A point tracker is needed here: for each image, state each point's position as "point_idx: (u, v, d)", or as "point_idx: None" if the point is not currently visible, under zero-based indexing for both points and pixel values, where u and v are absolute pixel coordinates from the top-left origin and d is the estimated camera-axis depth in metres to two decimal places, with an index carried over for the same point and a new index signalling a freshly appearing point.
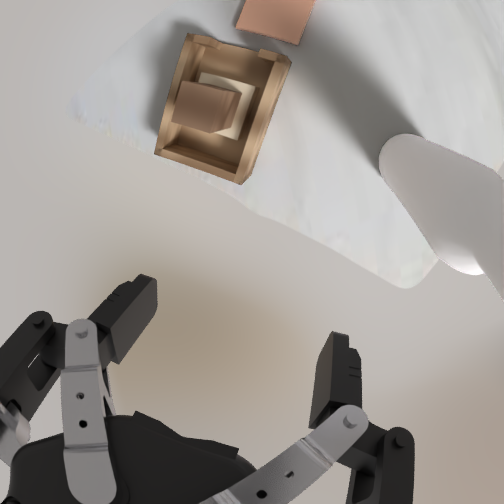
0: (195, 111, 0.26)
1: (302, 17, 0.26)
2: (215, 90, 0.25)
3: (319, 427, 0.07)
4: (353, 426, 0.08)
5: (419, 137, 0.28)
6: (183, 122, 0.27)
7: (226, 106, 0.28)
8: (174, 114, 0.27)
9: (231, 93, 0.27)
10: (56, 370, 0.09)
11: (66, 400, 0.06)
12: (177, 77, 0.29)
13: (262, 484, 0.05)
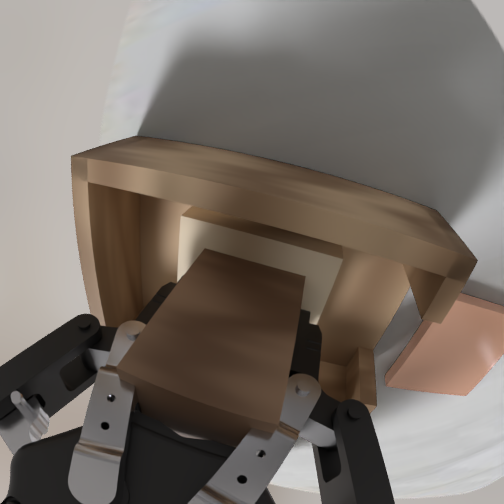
0: (175, 427, 0.08)
1: (432, 387, 0.17)
2: None
3: None
4: (304, 393, 0.08)
5: None
6: None
7: None
8: (143, 383, 0.07)
9: None
10: (94, 375, 0.09)
11: (95, 398, 0.06)
12: (326, 228, 0.09)
13: (262, 484, 0.05)
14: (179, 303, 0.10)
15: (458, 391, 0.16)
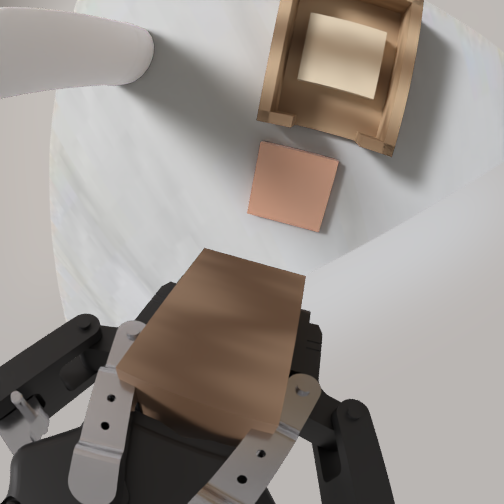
0: (175, 427, 0.08)
1: (259, 178, 0.30)
2: None
3: None
4: (304, 393, 0.08)
5: (113, 83, 0.26)
6: None
7: None
8: (143, 384, 0.07)
9: None
10: (94, 375, 0.09)
11: (95, 398, 0.06)
12: (401, 93, 0.19)
13: (262, 484, 0.05)
14: (179, 303, 0.10)
15: (253, 203, 0.32)
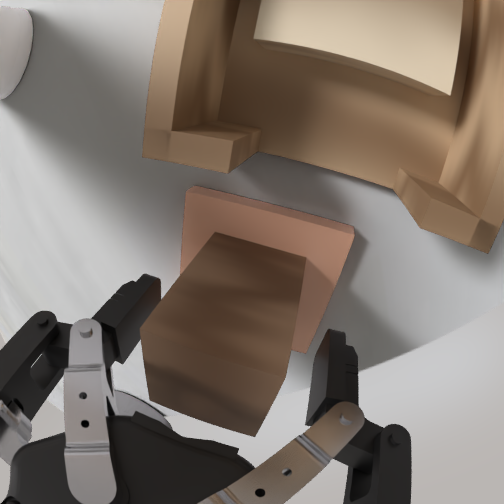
0: (189, 390, 0.09)
1: None
2: (254, 428, 0.10)
3: (315, 424, 0.08)
4: (349, 423, 0.08)
5: None
6: (151, 361, 0.09)
7: None
8: (164, 342, 0.08)
9: None
10: (59, 370, 0.09)
11: (69, 399, 0.06)
12: None
13: (262, 484, 0.05)
14: (194, 276, 0.11)
15: None
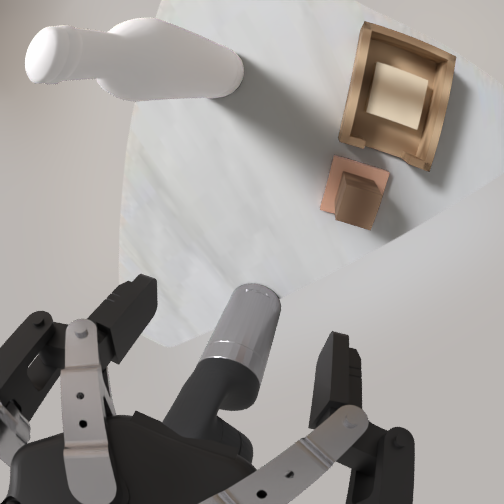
0: (354, 207, 0.33)
1: (331, 183, 0.39)
2: (371, 224, 0.33)
3: (319, 427, 0.07)
4: (353, 426, 0.08)
5: (211, 97, 0.35)
6: (345, 196, 0.32)
7: None
8: (352, 188, 0.32)
9: None
10: (56, 370, 0.09)
11: (66, 400, 0.06)
12: (437, 127, 0.28)
13: (262, 484, 0.05)
14: (348, 178, 0.34)
15: (325, 202, 0.40)
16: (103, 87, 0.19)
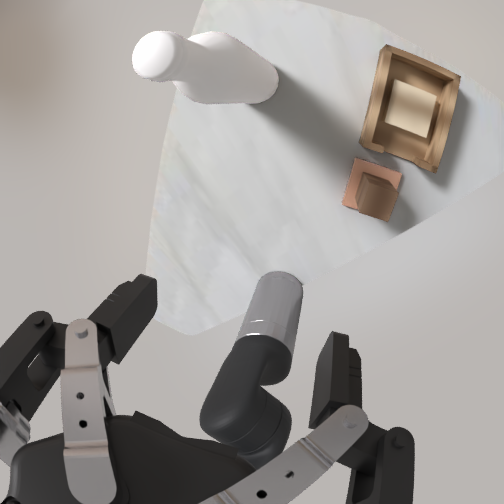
0: (375, 202, 0.38)
1: (352, 181, 0.44)
2: (388, 216, 0.38)
3: (319, 427, 0.07)
4: (353, 426, 0.08)
5: (251, 102, 0.40)
6: (368, 193, 0.38)
7: None
8: (374, 186, 0.37)
9: None
10: (56, 370, 0.09)
11: (66, 400, 0.06)
12: (443, 136, 0.33)
13: (262, 484, 0.05)
14: (369, 178, 0.40)
15: (347, 198, 0.46)
16: (181, 89, 0.24)
